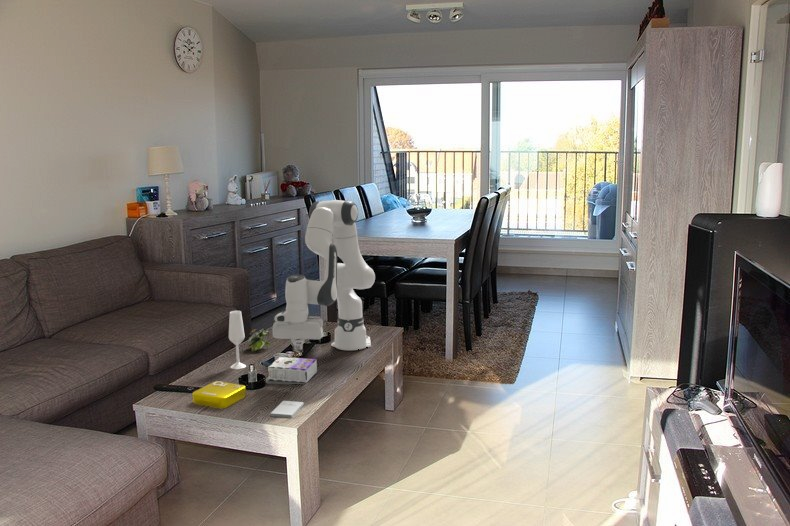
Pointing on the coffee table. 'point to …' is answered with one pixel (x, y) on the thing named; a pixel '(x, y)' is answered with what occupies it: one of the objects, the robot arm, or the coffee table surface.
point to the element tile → (219, 394)
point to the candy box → (292, 369)
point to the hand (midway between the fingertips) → (298, 349)
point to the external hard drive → (287, 409)
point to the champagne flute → (236, 335)
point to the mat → (281, 382)
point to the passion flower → (258, 339)
